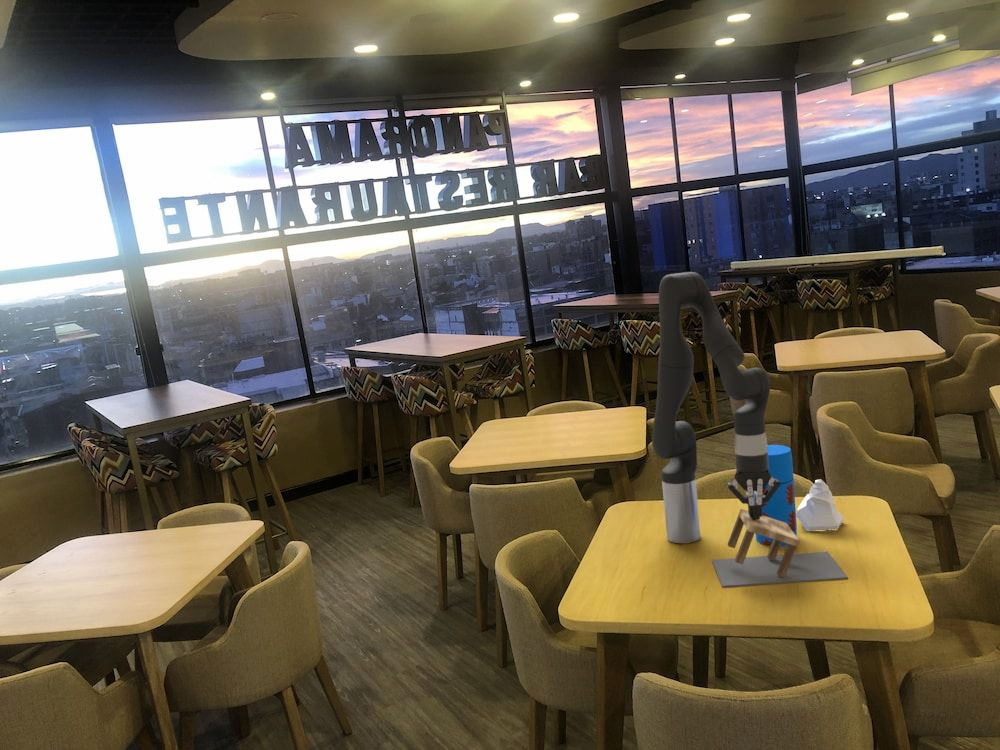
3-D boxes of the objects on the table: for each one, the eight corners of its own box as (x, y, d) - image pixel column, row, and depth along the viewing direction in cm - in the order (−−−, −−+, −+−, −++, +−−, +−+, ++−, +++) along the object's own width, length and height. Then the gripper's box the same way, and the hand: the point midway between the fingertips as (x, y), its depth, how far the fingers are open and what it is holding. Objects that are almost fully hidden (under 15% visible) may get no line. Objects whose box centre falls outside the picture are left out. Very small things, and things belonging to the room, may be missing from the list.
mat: (711, 561, 209) (711, 559, 209) (827, 552, 205) (827, 551, 205) (722, 587, 193) (722, 585, 193) (847, 578, 190) (847, 577, 190)
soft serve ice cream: (848, 522, 228) (858, 478, 223) (830, 544, 217) (840, 498, 212) (804, 506, 236) (813, 463, 230) (785, 527, 225) (793, 483, 219)
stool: (773, 558, 205) (727, 544, 206) (786, 523, 203) (740, 508, 204) (784, 577, 193) (736, 562, 194) (799, 540, 191) (750, 524, 192)
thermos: (784, 549, 211) (777, 457, 207) (747, 541, 219) (740, 452, 215) (804, 536, 218) (799, 447, 214) (769, 529, 226) (762, 443, 222)
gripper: (775, 444, 198) (779, 511, 201) (720, 448, 200) (725, 515, 202) (783, 452, 191) (787, 522, 193) (726, 456, 192) (730, 525, 195)
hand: (755, 518), depth 198 cm, fingers closed
